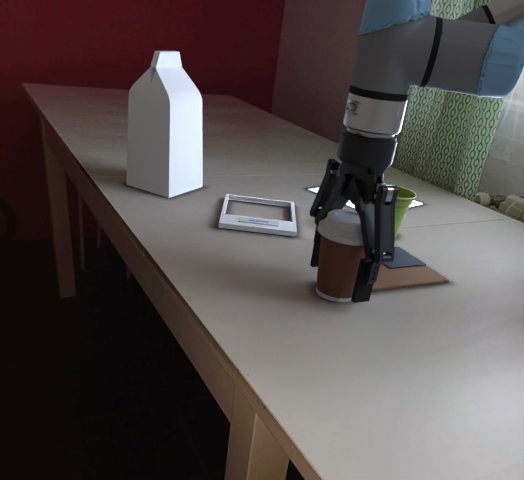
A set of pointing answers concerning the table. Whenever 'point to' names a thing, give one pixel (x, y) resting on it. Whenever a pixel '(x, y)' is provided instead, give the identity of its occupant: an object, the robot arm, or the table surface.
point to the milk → (165, 129)
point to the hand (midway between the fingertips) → (338, 282)
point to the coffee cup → (339, 254)
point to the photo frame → (258, 223)
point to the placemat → (405, 272)
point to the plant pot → (402, 206)
